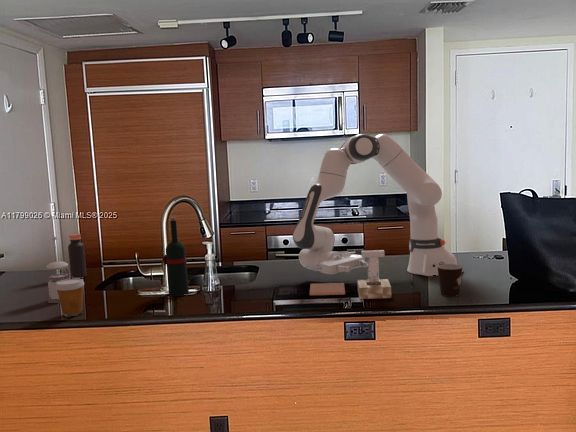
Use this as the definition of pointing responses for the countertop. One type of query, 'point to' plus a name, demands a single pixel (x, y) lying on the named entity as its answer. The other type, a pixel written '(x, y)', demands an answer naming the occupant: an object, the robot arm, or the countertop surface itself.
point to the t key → (373, 265)
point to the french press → (56, 275)
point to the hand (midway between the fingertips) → (358, 267)
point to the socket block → (374, 289)
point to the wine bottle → (176, 264)
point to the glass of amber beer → (70, 295)
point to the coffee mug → (450, 279)
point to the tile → (327, 289)
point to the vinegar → (77, 256)
